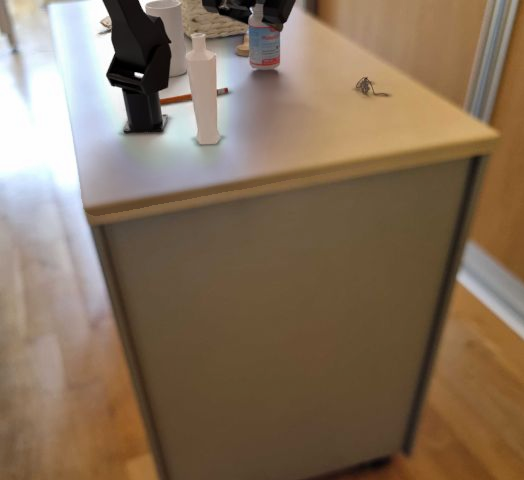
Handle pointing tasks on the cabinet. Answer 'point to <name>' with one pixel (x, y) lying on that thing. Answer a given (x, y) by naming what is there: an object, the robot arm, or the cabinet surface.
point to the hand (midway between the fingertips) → (268, 27)
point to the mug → (171, 31)
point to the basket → (207, 21)
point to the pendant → (366, 86)
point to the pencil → (187, 97)
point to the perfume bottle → (203, 89)
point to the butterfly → (106, 22)
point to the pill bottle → (262, 42)
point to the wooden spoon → (244, 47)
